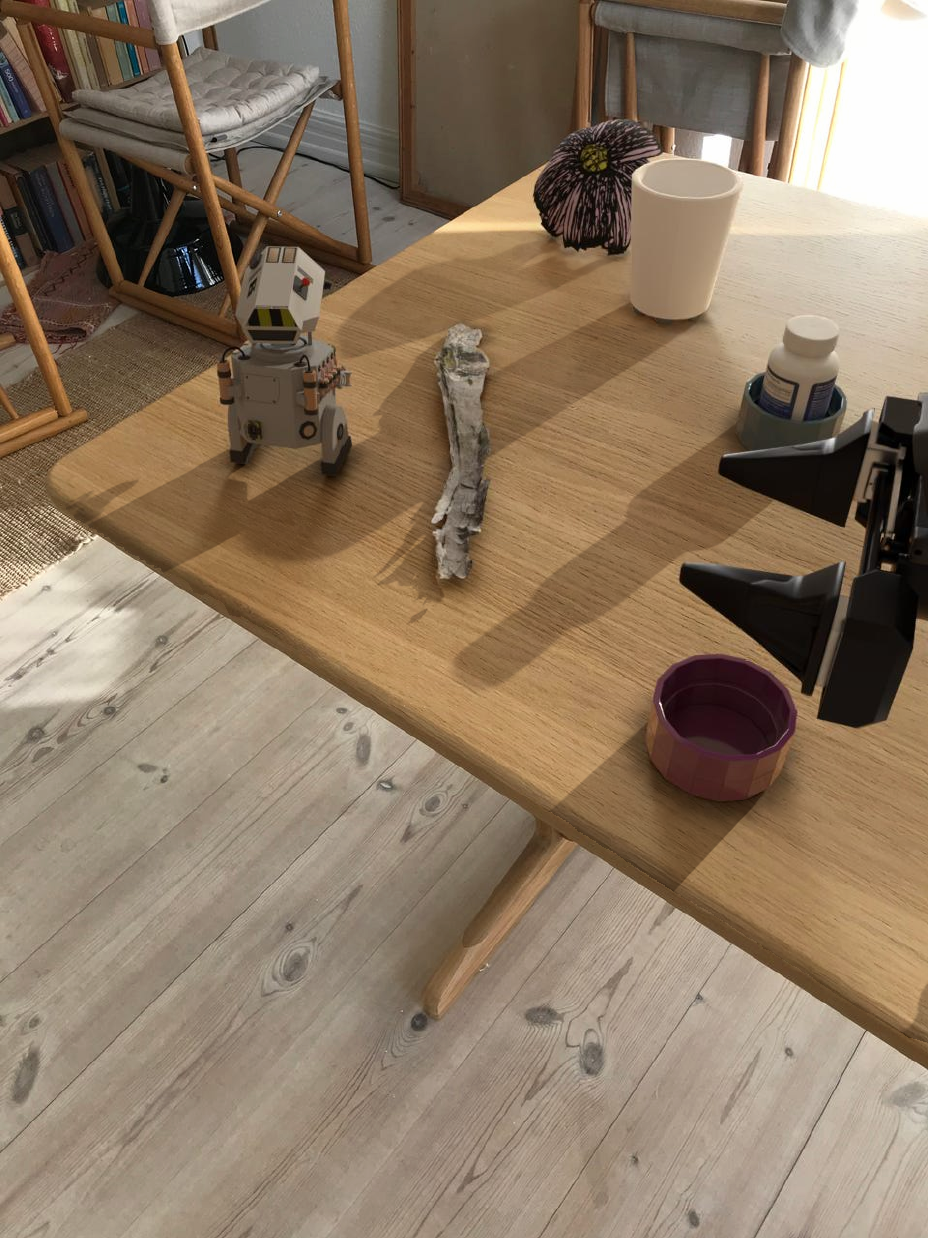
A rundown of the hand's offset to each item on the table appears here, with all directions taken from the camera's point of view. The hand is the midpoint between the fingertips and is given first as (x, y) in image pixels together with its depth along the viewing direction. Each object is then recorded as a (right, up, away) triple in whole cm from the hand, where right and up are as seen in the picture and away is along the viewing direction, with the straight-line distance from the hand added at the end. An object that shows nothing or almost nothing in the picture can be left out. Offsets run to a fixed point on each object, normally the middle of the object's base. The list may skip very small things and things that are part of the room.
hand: (701, 515), depth 50 cm
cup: (+8, +25, +49) cm, 56 cm away
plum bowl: (+3, -13, +10) cm, 17 cm away
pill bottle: (+15, +10, +33) cm, 37 cm away
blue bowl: (+15, +10, +33) cm, 37 cm away
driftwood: (-12, +10, +34) cm, 37 cm away
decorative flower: (+3, +38, +62) cm, 73 cm away
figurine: (-25, +9, +33) cm, 43 cm away
